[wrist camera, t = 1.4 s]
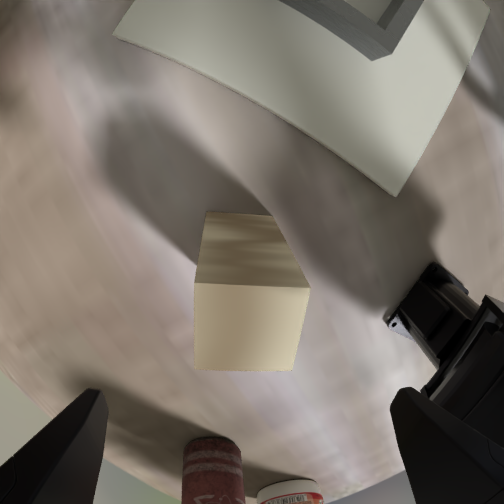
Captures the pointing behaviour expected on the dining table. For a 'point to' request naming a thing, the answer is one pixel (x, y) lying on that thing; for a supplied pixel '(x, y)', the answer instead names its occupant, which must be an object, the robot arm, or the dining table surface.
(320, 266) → the dining table surface
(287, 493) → the fruit juice
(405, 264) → the dining table surface
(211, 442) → the can
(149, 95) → the dining table surface
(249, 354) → the square peg
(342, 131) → the socket board
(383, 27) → the square socket
